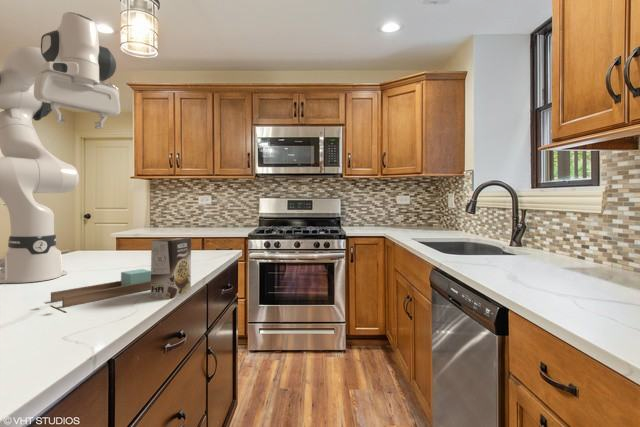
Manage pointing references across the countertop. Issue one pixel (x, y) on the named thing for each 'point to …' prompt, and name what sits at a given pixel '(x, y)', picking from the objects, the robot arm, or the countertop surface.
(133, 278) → the block
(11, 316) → the countertop surface
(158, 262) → the coffee box
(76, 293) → the chute
